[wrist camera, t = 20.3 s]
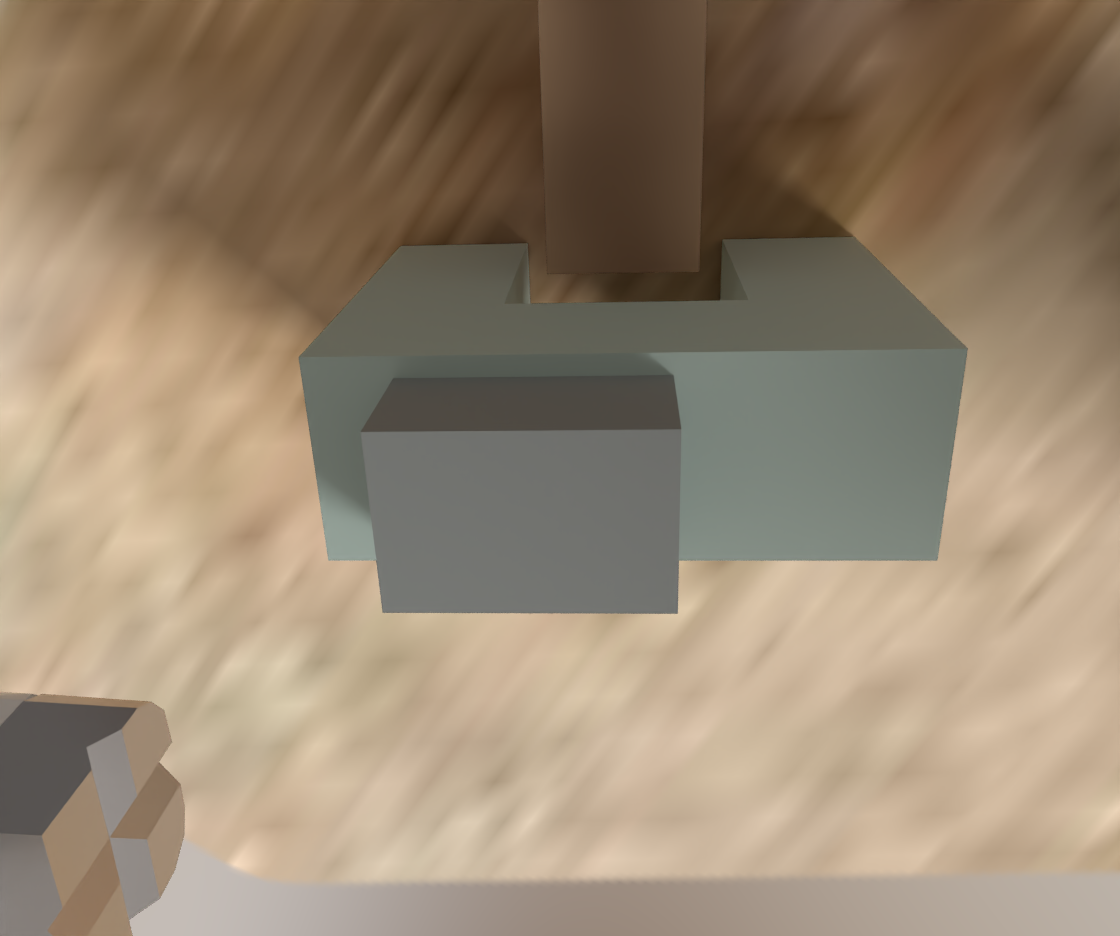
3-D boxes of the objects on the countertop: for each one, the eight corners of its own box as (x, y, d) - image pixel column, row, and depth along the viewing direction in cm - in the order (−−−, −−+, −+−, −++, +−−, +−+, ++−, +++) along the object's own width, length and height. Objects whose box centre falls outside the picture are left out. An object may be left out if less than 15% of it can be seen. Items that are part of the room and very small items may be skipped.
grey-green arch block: (854, 236, 31) (1020, 400, 18) (840, 391, 33) (980, 636, 20) (400, 245, 32) (252, 408, 19) (415, 395, 34) (290, 632, 21)
